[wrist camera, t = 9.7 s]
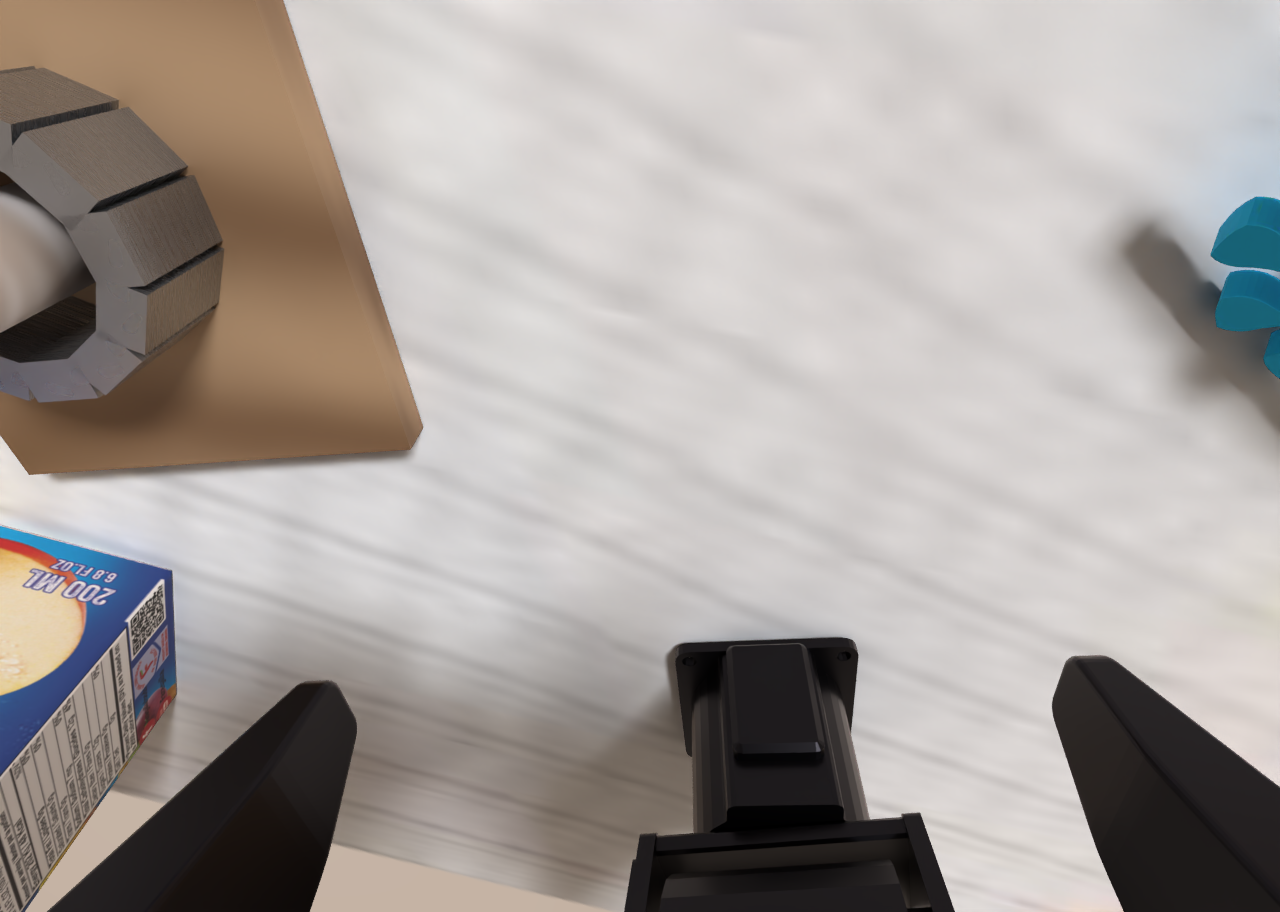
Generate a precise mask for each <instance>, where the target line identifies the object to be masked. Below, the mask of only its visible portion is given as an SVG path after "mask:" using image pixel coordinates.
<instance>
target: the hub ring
mask: <svg viewBox="0 0 1280 912" xmlns="http://www.w3.org/2000/svg"><path fill="white" fill-rule="evenodd" d="M187 167H188V165H187V164H186V163H185V162H184V161H183V160H182V159H181V158H180V157H179V156H178V155H177V154H176V153H175V152H174V151H173V150H172V149H171V148H170V147H169V146H168V145H167V144H166V143H165V142H164V141H163V140H162V139H161V138H160V137H159V136H158V135H157V134H156V133H155V132H154V131H153V130H152V129H151V128H150V127H149V126H148V125H147V124H146V123H145V122H143V121H142V120H141V119H140V118H139V117H138V116H137V115H136V114H135V113H134V112H133V111H132V110H131V109H130V108H129V107H125V108H120V109H119V100H118V99H116V98H113V97H111V96H109V95H106V94H104V93H102V92H99V91H97V90H95V89H93V88H90V87H88V86H86V85H83V84H81V83H79V82H76V81H74V80H72V79H69V78H67V77H65V76H62V75H60V74H58V73H56V72H53V71H51V70H49V69H46V68H38V69H36V68H35V67H34V66H29V67H21V68H13V69H5V70H0V171H1V172H3V173H5V174H6V175H8V176H9V177H10V178H11V179H12V180H13V181H14V182H16V183H17V184H18V185H19V186H20V187H21V188H22V189H24V190H25V191H26V192H27V193H28V194H29V195H30V196H32V197H33V198H34V199H35V200H36V201H37V202H38V203H40V204H41V205H42V206H43V207H44V208H45V209H46V210H48V211H49V212H50V213H51V214H52V215H53V216H54V217H56V218H57V219H58V220H59V221H60V222H61V223H62V224H64V226H65V228H66V230H67V231H68V233H69V235H70V237H71V239H72V240H73V242H74V244H75V246H76V247H77V249H78V251H79V253H80V255H81V256H82V258H83V260H84V262H85V264H86V265H87V267H88V269H89V271H90V273H91V274H92V276H93V278H94V280H95V282H96V305H95V304H93V303H90V302H87V301H85V300H82V299H79V298H77V297H74V296H69V297H67V298H65V299H63V300H61V301H59V302H58V303H56V304H54V305H52V306H50V307H48V308H46V309H44V310H42V311H41V312H39V313H37V314H35V315H33V316H31V317H29V318H27V319H25V320H24V321H22V322H20V323H18V324H16V325H14V326H12V327H10V328H8V329H7V330H5V331H3V332H1V333H0V391H2V392H4V393H7V394H10V395H13V396H16V397H19V398H22V399H25V400H28V401H30V400H32V399H34V398H36V399H37V401H38V402H39V403H40V402H53V401H67V400H80V399H93V398H100V397H101V396H102V395H107V394H108V393H110V392H111V391H112V390H114V389H115V388H116V387H118V386H119V385H120V384H122V383H123V382H124V381H126V380H127V379H129V378H130V377H131V376H133V375H134V374H135V373H137V372H138V371H139V370H141V369H142V368H144V367H145V366H146V365H148V364H149V363H150V362H152V361H153V360H154V359H156V358H157V357H158V356H160V355H161V354H163V353H164V352H165V351H167V350H168V349H169V348H171V347H172V346H173V345H175V344H176V343H177V342H179V341H180V340H182V339H183V338H184V337H185V336H186V335H187V334H188V333H189V332H190V331H192V330H193V329H194V328H195V327H196V326H197V325H198V324H199V323H200V322H201V321H202V320H203V319H205V318H206V317H207V316H208V315H209V314H210V313H211V312H212V311H213V310H214V309H215V308H216V307H214V305H216V304H217V303H218V302H219V297H220V287H221V277H222V268H223V258H224V248H221V247H219V246H217V245H216V244H217V243H219V242H221V241H223V239H222V237H221V235H220V232H219V230H218V228H217V226H216V223H215V221H214V219H213V216H212V214H211V212H210V209H209V207H208V205H207V203H206V200H205V198H204V196H203V193H202V191H201V189H200V187H199V184H198V182H197V180H196V177H195V175H189V176H180V177H178V176H179V175H180V174H181V173H182V172H183V171H184V170H185V169H186V168H187Z"/></svg>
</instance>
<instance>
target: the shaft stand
mask: <svg viewBox="0 0 1280 912" xmlns="http://www.w3.org/2000/svg"><path fill="white" fill-rule="evenodd" d="M29 66H34V67H35V68H36V69H38V68H46V69H49V70H51V71H53V72H56V73H58V74H60V75H62V76H65V77H67V78H69V79H72V80H74V81H76V82H79V83H81V84H83V85H86V86H88V87H90V88H93V89H95V90H97V91H99V92H102V93H104V94H106V95H109V96H111V97H113V98H116V99H118V100H119V109H120V108H125V107H129V108H130V109H131V110H132V111H133V112H134V113H135V114H136V115H137V116H138V117H139V118H140V119H141V120H142V121H143V122H145V123H146V124H147V125H148V126H149V127H150V128H151V129H152V130H153V131H154V132H155V133H156V134H157V135H158V136H159V137H160V138H161V139H162V140H163V141H164V142H165V143H166V144H167V145H168V146H169V147H170V148H171V149H172V150H173V151H174V152H175V153H176V154H177V155H178V156H179V157H180V158H181V159H182V160H183V161H184V162H185V163H186V164H187V165H188V167H187V168H186V169H185V170H184V171H183V172H182V173H181V174H180V175H179V176H178V177H180V176H189V175H195V177H196V180H197V182H198V184H199V187H200V189H201V191H202V193H203V196H204V198H205V200H206V203H207V205H208V207H209V209H210V212H211V214H212V216H213V219H214V221H215V223H216V226H217V228H218V230H219V232H220V235H221V237H222V239H223V241H221V242H219V243H217V244H216V245H217V246H219V247H221V248H224V258H223V268H222V277H221V287H220V297H219V302H218V303H217V304H216V305H214V307H216V308H215V309H214V310H213V311H212V312H211V313H210V314H209V315H208V316H207V317H206V318H205V319H203V320H202V321H201V322H200V323H199V324H198V325H197V326H196V327H195V328H194V329H193V330H192V331H190V332H189V333H188V334H187V335H186V336H185V337H184V338H183V339H182V340H180V341H179V342H177V343H176V344H175V345H173V346H172V347H171V348H169V349H168V350H167V351H165V352H164V353H163V354H161V355H160V356H158V357H157V358H156V359H154V360H153V361H152V362H150V363H149V364H148V365H146V366H145V367H144V368H142V369H141V370H139V371H138V372H137V373H135V374H134V375H133V376H131V377H130V378H129V379H127V380H126V381H124V382H123V383H122V384H120V385H119V386H118V387H116V388H115V389H114V390H112V391H111V392H110V393H108V394H107V395H102V396H101V397H100V398H93V399H80V400H67V401H53V402H40V403H39V402H38V401H37V399H36V398H34V399H32V400H30V401H28V400H25V399H22V398H19V397H16V396H13V395H10V394H7V393H4V392H2V391H0V435H1V437H2V438H3V439H4V441H5V442H6V444H7V445H8V446H9V448H10V449H11V450H12V452H13V453H14V455H15V456H16V457H17V459H18V460H19V461H20V463H21V464H22V466H23V467H24V468H25V470H26V471H27V472H28V474H29V475H33V474H48V473H63V472H78V471H93V470H108V469H123V468H139V467H154V466H169V465H184V464H199V463H214V462H229V461H244V460H259V459H274V458H289V457H304V456H319V455H335V454H350V453H365V452H380V451H395V450H410V449H411V448H412V446H413V445H414V443H415V441H416V439H417V438H418V436H419V434H420V432H421V430H422V429H423V425H422V422H421V419H420V415H419V412H418V409H417V406H416V403H415V400H414V397H413V394H412V391H411V388H410V385H409V382H408V379H407V376H406V373H405V370H404V367H403V364H402V361H401V358H400V355H399V352H398V349H397V345H396V342H395V339H394V336H393V333H392V330H391V327H390V324H389V321H388V318H387V315H386V312H385V309H384V306H383V303H382V300H381V297H380V294H379V291H378V288H377V285H376V282H375V279H374V275H373V272H372V269H371V266H370V263H369V260H368V257H367V254H366V251H365V248H364V245H363V242H362V239H361V236H360V233H359V230H358V227H357V224H356V221H355V218H354V215H353V212H352V209H351V205H350V202H349V199H348V196H347V193H346V190H345V187H344V184H343V181H342V178H341V175H340V172H339V169H338V166H337V163H336V160H335V157H334V154H333V151H332V148H331V145H330V142H329V139H328V136H327V132H326V129H325V126H324V123H323V120H322V117H321V114H320V111H319V108H318V105H317V102H316V99H315V96H314V93H313V90H312V87H311V84H310V81H309V78H308V75H307V72H306V69H305V66H304V62H303V59H302V56H301V53H300V50H299V47H298V44H297V41H296V38H295V35H294V32H293V29H292V26H291V23H290V20H289V17H288V14H287V11H286V8H285V5H284V2H283V0H0V70H5V69H13V68H21V67H29ZM69 296H74V297H77V298H79V299H82V300H85V301H87V302H90V303H93V304H95V305H96V282H95V280H94V278H93V276H92V274H91V273H90V271H89V269H88V267H87V265H86V264H85V262H84V260H83V258H82V256H81V255H80V253H79V251H78V249H77V247H76V246H75V244H74V242H73V240H72V239H71V237H70V235H69V233H68V231H67V230H66V228H65V226H64V224H62V223H61V222H60V221H59V220H58V219H57V218H56V217H54V216H53V215H52V214H51V213H50V212H49V211H48V210H46V209H45V208H44V207H43V206H42V205H41V204H40V203H38V202H37V201H36V200H35V199H34V198H33V197H32V196H30V195H29V194H28V193H27V192H26V191H25V190H24V189H22V188H21V187H20V186H19V185H18V184H17V183H16V182H14V181H13V180H12V179H11V178H10V177H9V176H8V175H6V174H5V173H3V172H1V171H0V333H1V332H3V331H5V330H7V329H8V328H10V327H12V326H14V325H16V324H18V323H20V322H22V321H24V320H25V319H27V318H29V317H31V316H33V315H35V314H37V313H39V312H41V311H42V310H44V309H46V308H48V307H50V306H52V305H54V304H56V303H58V302H59V301H61V300H63V299H65V298H67V297H69Z"/></svg>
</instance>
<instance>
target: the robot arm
mask: <svg viewBox="0 0 1280 912" xmlns="http://www.w3.org/2000/svg"><path fill="white" fill-rule="evenodd" d="M844 651H845V652H844ZM675 662H676V671H677V679H678V687H679V696H680V704H681V712H682V721H683V729H684V737H685V746H686V752H687V754H688V755H689V756H691V757H692V771H693V833H690V834H677V835H664V836H658V834H657V833H650V834H641V835H640V838H639V844H638V850H637V856H636V859H634V860H633V862H632V868H631V874H630V880H629V886H628V892H627V898H626V904H625V911H624V912H955V911H954V908H953V905H952V902H951V899H950V897H949V894H948V891H947V888H946V885H945V882H944V879H943V877H942V874H941V871H940V868H939V865H938V862H937V860H936V857H935V854H934V851H933V848H932V845H931V842H930V840H929V837H928V834H927V831H926V828H925V825H924V822H923V820H922V817H921V814H920V813H907V814H902V815H901V816H902V817H898V818H885V819H872V820H870V818H869V813H868V809H867V804H866V800H865V795H864V791H863V786H862V782H861V777H860V773H859V769H858V764H857V760H856V755H855V751H854V746H853V742H852V737H851V727H852V716H853V706H854V696H855V685H856V675H857V665H858V652H857V648H856V644H855V642H854V641H853V640H850V639H848V638H827V639H800V640H772V641H745V642H718V643H690V644H683V645H681V646H679V647H678V648H677V649H676V653H675ZM1052 712H1053V717H1054V721H1055V724H1056V727H1057V730H1058V733H1059V736H1060V739H1061V742H1062V746H1063V749H1064V752H1065V755H1066V758H1067V761H1068V764H1069V767H1070V770H1071V773H1072V776H1073V779H1074V782H1075V785H1076V788H1077V791H1078V795H1079V798H1080V801H1081V804H1082V807H1083V810H1084V813H1085V816H1086V819H1087V822H1088V825H1089V828H1090V831H1091V834H1092V837H1093V840H1094V842H1095V845H1096V848H1097V851H1098V853H1099V856H1100V858H1101V860H1102V863H1103V865H1104V868H1105V870H1106V872H1107V875H1108V877H1109V879H1110V881H1111V884H1112V886H1113V888H1114V890H1115V893H1116V895H1117V897H1118V899H1119V902H1120V904H1121V906H1122V908H1123V911H1124V912H1280V787H1279V786H1278V785H1276V784H1275V783H1274V782H1273V781H1271V780H1270V779H1269V778H1267V777H1266V776H1265V775H1263V774H1262V773H1261V772H1260V771H1258V770H1257V769H1256V768H1254V767H1253V766H1252V765H1250V764H1249V763H1248V762H1247V761H1245V760H1244V759H1243V758H1241V757H1240V756H1239V755H1237V754H1236V753H1235V752H1234V751H1232V750H1231V749H1230V748H1228V747H1227V746H1226V745H1224V744H1223V743H1222V742H1221V741H1219V740H1218V739H1217V738H1215V737H1214V736H1213V735H1211V734H1210V733H1209V732H1208V731H1206V730H1205V729H1204V728H1202V727H1201V726H1200V725H1198V724H1197V723H1196V722H1195V721H1193V720H1192V719H1191V718H1189V717H1188V716H1187V715H1185V714H1184V713H1183V712H1182V711H1180V710H1179V709H1178V708H1176V707H1175V706H1174V705H1172V704H1171V703H1170V702H1169V701H1167V700H1166V699H1165V698H1163V697H1162V696H1161V695H1159V694H1158V693H1157V692H1156V691H1154V690H1153V689H1152V688H1150V687H1149V686H1148V685H1146V684H1145V683H1144V682H1143V681H1141V680H1140V679H1139V678H1137V677H1136V676H1135V675H1133V674H1132V673H1131V672H1130V671H1128V670H1127V669H1126V668H1124V667H1123V666H1122V665H1120V664H1119V663H1118V662H1116V661H1115V660H1113V659H1111V658H1109V657H1107V656H1102V655H1091V656H1073V657H1071V658H1069V659H1068V660H1067V661H1066V663H1065V665H1064V668H1063V671H1062V673H1061V676H1060V679H1059V682H1058V685H1057V688H1056V691H1055V694H1054V697H1053V701H1052ZM356 734H357V724H356V719H355V716H354V714H353V712H352V711H351V709H350V707H349V705H348V703H347V701H346V699H345V698H344V696H343V694H342V692H341V690H340V688H339V687H338V685H337V684H336V683H334V682H333V681H329V680H326V681H306V682H303V683H300V684H299V685H297V686H296V687H294V688H293V689H292V690H291V691H290V692H289V693H288V694H287V695H286V696H284V697H283V698H282V699H281V700H280V701H279V702H278V703H277V704H276V705H274V706H273V707H272V708H271V709H270V710H269V711H268V712H267V713H266V714H265V715H263V716H262V717H261V718H260V719H259V720H258V721H257V722H256V723H255V724H254V725H252V726H251V727H250V728H249V729H248V730H247V731H246V732H245V733H244V734H242V735H241V736H240V737H239V738H238V739H237V740H236V741H235V742H234V743H233V744H231V745H230V746H229V747H228V748H227V749H226V750H225V751H224V752H223V753H222V754H220V755H219V756H218V757H217V758H216V759H215V760H214V761H213V762H212V763H210V764H209V765H208V766H207V767H206V768H205V769H204V770H203V771H202V772H201V773H199V774H198V775H197V776H196V777H195V778H194V779H193V780H192V781H191V782H190V783H188V784H187V785H186V786H185V787H184V788H183V789H182V790H181V791H180V792H178V793H177V794H176V795H175V796H174V797H173V798H172V799H171V800H170V801H169V802H167V803H166V804H165V805H164V806H163V807H162V808H161V809H160V810H159V811H157V812H156V813H155V814H154V815H153V816H152V817H151V818H150V819H149V820H148V821H146V822H145V823H144V824H143V825H142V826H141V827H140V828H139V829H138V830H137V831H135V832H134V833H133V834H132V835H131V836H130V837H129V838H128V839H127V840H125V841H124V842H123V843H122V844H121V845H120V846H119V847H118V848H117V849H116V850H114V851H113V852H112V853H111V854H110V855H109V856H108V857H107V858H106V859H105V860H104V861H102V862H101V863H100V864H99V865H98V866H97V867H96V868H95V869H94V870H92V871H91V872H90V873H89V874H88V875H87V876H86V877H85V878H84V879H82V880H81V881H80V882H79V883H78V884H77V885H76V886H75V887H74V888H73V889H71V890H70V891H69V892H68V893H67V894H66V895H65V896H64V897H63V898H61V899H60V900H59V901H58V902H57V903H56V904H55V905H54V906H53V907H52V908H50V909H49V910H48V911H47V912H310V909H311V906H312V903H313V900H314V897H315V895H316V892H317V889H318V886H319V882H320V880H321V877H322V873H323V870H324V867H325V864H326V861H327V858H328V854H329V850H330V847H331V843H332V839H333V835H334V831H335V826H336V822H337V818H338V813H339V809H340V805H341V800H342V796H343V792H344V788H345V783H346V779H347V775H348V770H349V766H350V762H351V757H352V753H353V749H354V744H355V740H356Z"/></svg>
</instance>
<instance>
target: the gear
mask: <svg viewBox="0 0 1280 912" xmlns="http://www.w3.org/2000/svg"><path fill="white" fill-rule="evenodd" d="M1211 256H1212V257H1213V258H1214V259H1215V260H1217V261H1218V262H1220V263H1223V264H1226V265H1229V266H1235V267H1253V268H1262V269H1270V270H1274V271H1279V272H1280V200H1277V199H1274V198H1269V197H1255V198H1253V199H1251V200H1249V201H1247V202H1245V203H1244V204H1243V205H1241V206H1240V207H1239V208H1237V209H1236V210H1235V211H1234V212H1233V213H1232V214H1231V215H1230V216H1229V217H1228V218H1227V220H1226V221H1225V222H1224V223H1223V225H1222V226H1221V227H1220V229H1219V232H1218V235H1217V237H1216V240H1215V243H1214V246H1213V249H1212V252H1211ZM1215 319H1216V325H1217V327H1218V328H1221V329H1224V330H1230V331H1251V330H1256V329H1261V328H1270V327H1280V280H1279V279H1278V278H1276V277H1274V276H1272V275H1270V274H1268V273H1265V272H1261V271H1255V270H1241V271H1235V272H1230V274H1229V275H1228V277H1227V278H1226V281H1225V284H1224V287H1223V290H1222V293H1221V295H1220V298H1219V301H1218V304H1217V307H1216V311H1215ZM1263 359H1264V363H1265V365H1266V366H1267V368H1268V369H1269V370H1270V371H1271V372H1272V373H1273V374H1274V375H1275V376H1276V377H1278V378H1279V379H1280V329H1279V330H1276V331H1274V332H1272V333H1271V336H1270V339H1269V342H1268V345H1267V349H1266V352H1265V355H1264V358H1263Z"/></svg>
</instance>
